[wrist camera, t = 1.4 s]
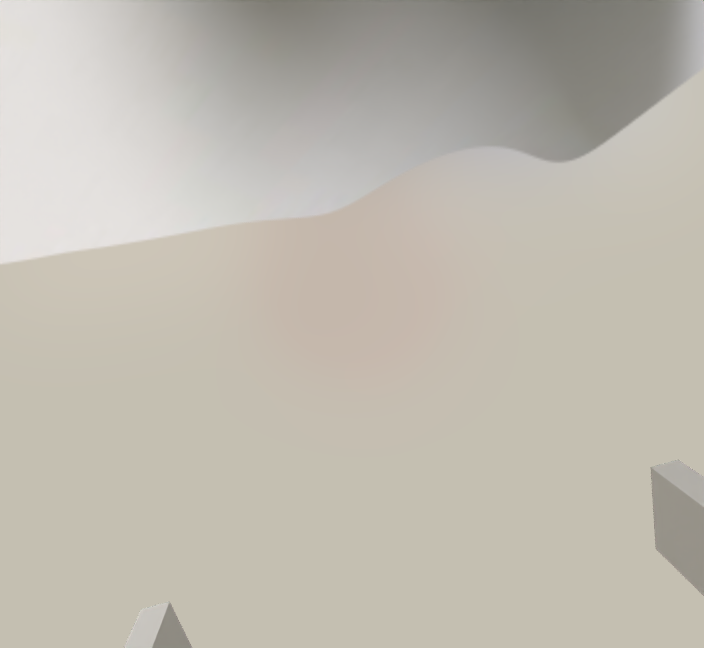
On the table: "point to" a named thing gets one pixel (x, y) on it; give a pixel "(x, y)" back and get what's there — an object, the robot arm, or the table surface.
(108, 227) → the table surface
